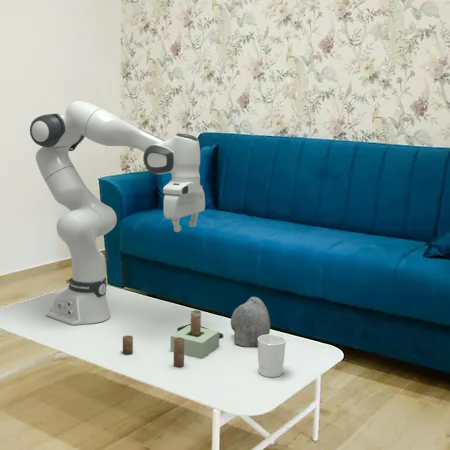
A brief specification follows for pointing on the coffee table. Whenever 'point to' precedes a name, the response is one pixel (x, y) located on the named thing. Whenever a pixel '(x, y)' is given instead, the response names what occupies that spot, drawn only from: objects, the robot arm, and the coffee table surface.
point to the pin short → (127, 345)
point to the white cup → (271, 355)
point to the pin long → (195, 323)
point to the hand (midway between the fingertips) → (185, 228)
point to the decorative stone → (250, 322)
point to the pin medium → (178, 352)
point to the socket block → (197, 341)
